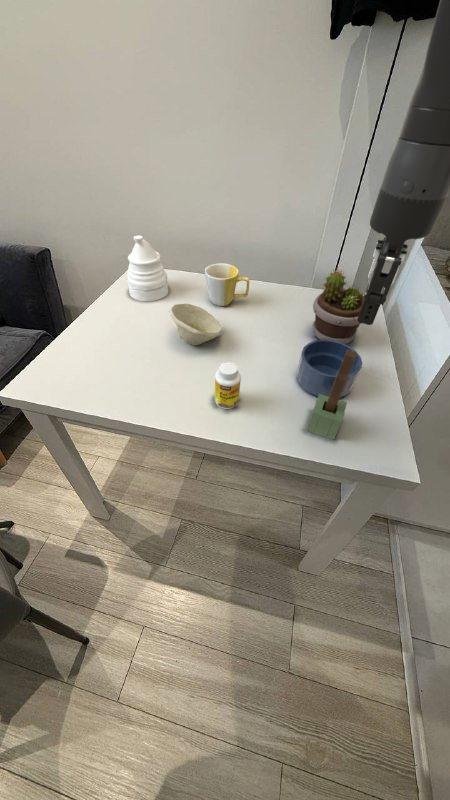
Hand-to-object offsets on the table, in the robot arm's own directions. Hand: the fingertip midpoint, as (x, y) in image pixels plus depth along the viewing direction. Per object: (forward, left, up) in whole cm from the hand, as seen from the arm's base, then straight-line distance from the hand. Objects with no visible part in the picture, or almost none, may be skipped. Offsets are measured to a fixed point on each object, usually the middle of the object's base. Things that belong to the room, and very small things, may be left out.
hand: (368, 308), depth 51 cm
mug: (+40, -38, -29) cm, 62 cm away
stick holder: (0, 0, -29) cm, 29 cm away
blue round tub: (+3, -15, -29) cm, 32 cm away
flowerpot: (+5, -35, -29) cm, 45 cm away
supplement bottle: (+22, +2, -29) cm, 36 cm away
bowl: (+39, -16, -29) cm, 51 cm away
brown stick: (0, 0, -29) cm, 29 cm away
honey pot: (+66, -33, -29) cm, 79 cm away
